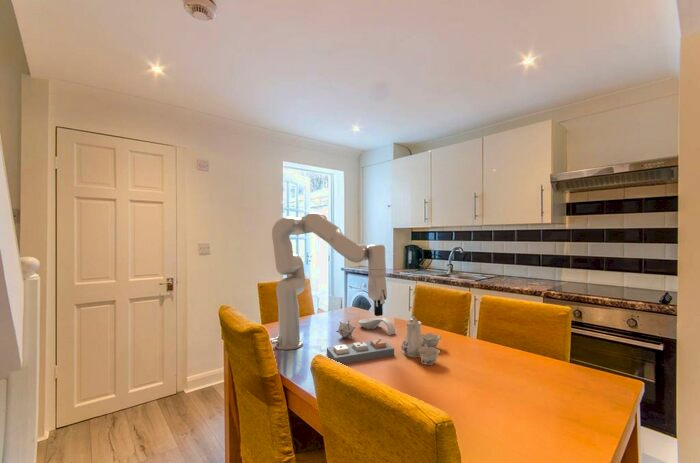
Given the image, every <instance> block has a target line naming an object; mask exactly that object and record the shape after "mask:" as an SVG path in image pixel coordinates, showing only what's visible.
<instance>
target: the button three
mask: <svg viewBox="0 0 700 463" xmlns="http://www.w3.org/2000/svg"><path fill="white" fill-rule="evenodd" d="M370 341H371V346H373V347H374V348H382V347H386V343H387V342H386V341H385V340H383V339H382V338H381V339H380V338H379V339H373V340H370Z"/></svg>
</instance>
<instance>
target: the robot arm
mask: <svg viewBox="0 0 700 463" xmlns="http://www.w3.org/2000/svg"><path fill="white" fill-rule="evenodd" d="M310 233H313V234H314V235H316V236H317V237H319V238H320V239H321V240H323V241H324V242H325V243H327V244H328V245H329V246H330V247H331V248H333V250H334V251H336V253H338V254H340V255H341V256H342V257H343V258H346V259H347V260H348V261H350V262H352V263H354V264H357V263H361V262H365V261H367V265H368V271H367V272H368V282H367V290H368V291H367V297H368V298H369V299H371V300H372V302H373V312H374V316H375V317H380V316H381V317H382V316H383V314H384V312H383V306H384V304H386V302H385V301H386V300H387V298H388V295H387V293H388V291H387V280H386V277H387V270H386V268H387V266H386V248H385V245H384V244H363V243H362V244H360V243H359V244H357V243H355V242H353V241H352V240H350V239H349V238H348V237H347V236H346V235H344V233H343V232H342V230H341V228H340V227H339V226H337V225H336V224H334V223H333V222H331V221H330V220H328V218H327V217H326V215H324V214H323V213H321V212H317V211H316V212H314V211H312V212H308V213H307V214H306V215H305V216H301V217H300V216H299V217H296V216H285V217H281V218H279V219H278V220H277V221H276V222H275V223H274V224H273V227H272V229H271V238H272V239H271V240H272V244H273V253H274V262H275V268H276V271H277V273H278V274H280V275H282V276H286V277H284V278H283V279H281V280H279V281H278V283H277V284H276V287H275V288H276V289H275V291H276V298H277V306H278V307H277V308H278V309H277V311H278V312H277V313H278V335H277V336H276V337H273V338H269V339H270V340H271V343H270V344H272V345H273V344H275V348H276V349H278V350H280V351H281V350H283V351H290V350H296V349H299V348H301V347H303V345H304V341H303V339H301V338H300V336H301V335H300V334H301V332H300V304H299V299H298V295H300V294H302V293H303V292H304V291H305V290H306V286H307V285H306V283H307V282H306V274H305V267H304V262H303V259H302V257H301V256H300V255H299V254H296V253H294V252H293V244H292V241H291V239H290V237H291V236H299V235H305V234H310Z"/></svg>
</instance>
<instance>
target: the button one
mask: <svg viewBox="0 0 700 463" xmlns="http://www.w3.org/2000/svg"><path fill="white" fill-rule="evenodd" d="M346 345H347V344H345V343H344V344H340V345H339V344H337V345H333V347H334V352H335V353H336V354H343V353H349V348H348V347H347V346H346Z"/></svg>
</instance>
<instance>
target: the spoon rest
mask: <svg viewBox="0 0 700 463" xmlns="http://www.w3.org/2000/svg"><path fill="white" fill-rule="evenodd" d="M381 322H383V323H384V324H385V325H386V327H387V335H388V336H392V335H395V334H396V329H395V326H394V324H393V323H392V322H391V320H389V319H388V318H386V317H382V318H376V317H375V318H371V317H370V318H363V319H360V320H358V323H359V325H360V326H361V328H364V329H367V330H373V329H376V328H377V327H378V326H379V325H380V323H381Z"/></svg>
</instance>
